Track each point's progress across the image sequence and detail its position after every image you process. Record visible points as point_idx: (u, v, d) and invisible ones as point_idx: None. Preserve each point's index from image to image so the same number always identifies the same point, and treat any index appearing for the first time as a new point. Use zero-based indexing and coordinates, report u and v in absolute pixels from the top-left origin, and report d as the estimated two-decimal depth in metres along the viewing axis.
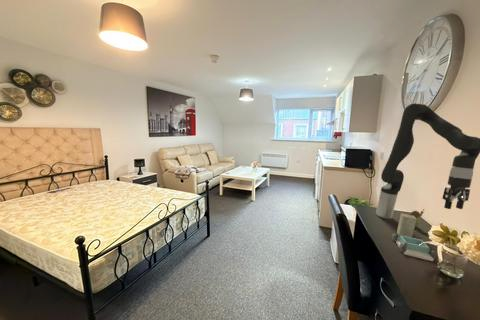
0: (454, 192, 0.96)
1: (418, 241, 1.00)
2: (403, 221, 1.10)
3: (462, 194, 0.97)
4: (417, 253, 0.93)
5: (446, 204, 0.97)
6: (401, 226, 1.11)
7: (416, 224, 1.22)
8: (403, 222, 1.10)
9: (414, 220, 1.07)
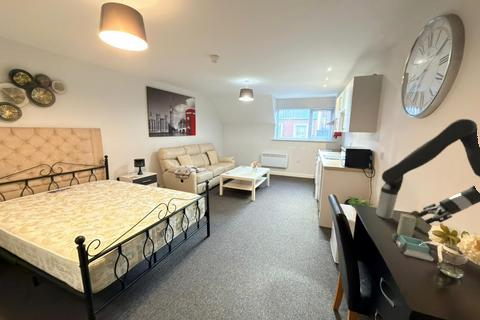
0: None
1: (418, 241, 1.00)
2: (403, 221, 1.10)
3: None
4: (417, 253, 0.93)
5: (431, 221, 1.03)
6: (401, 226, 1.11)
7: (416, 224, 1.22)
8: (403, 222, 1.10)
9: (414, 220, 1.07)
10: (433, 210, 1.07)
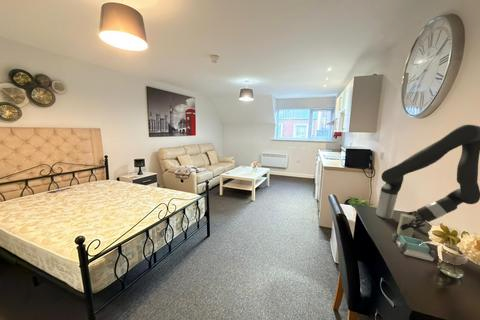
0: None
1: (418, 241, 1.00)
2: (403, 221, 1.10)
3: None
4: (417, 253, 0.93)
5: (405, 227, 1.09)
6: None
7: None
8: (403, 222, 1.10)
9: (414, 220, 1.07)
10: None
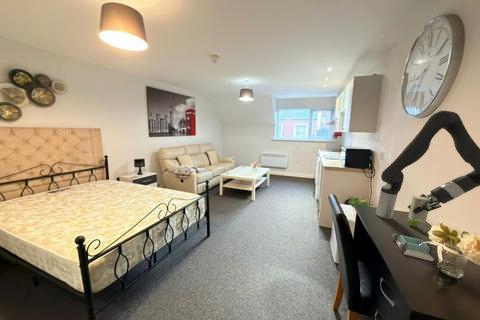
0: None
1: (418, 241, 1.00)
2: (416, 204, 0.99)
3: None
4: (417, 253, 0.93)
5: (418, 210, 0.98)
6: None
7: (416, 224, 1.22)
8: (416, 205, 0.99)
9: (428, 202, 0.97)
10: None
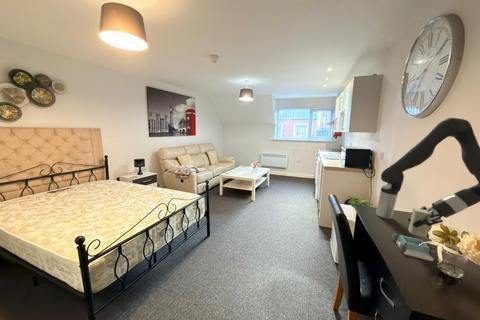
0: None
1: (418, 241, 1.00)
2: (416, 217, 0.95)
3: None
4: (417, 253, 0.93)
5: (419, 224, 0.93)
6: None
7: None
8: (416, 218, 0.95)
9: (429, 216, 0.92)
10: None
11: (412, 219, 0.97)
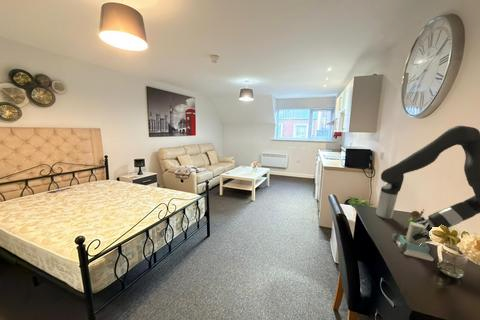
0: None
1: None
2: (413, 231, 0.96)
3: None
4: (417, 253, 0.93)
5: (418, 237, 0.93)
6: (410, 237, 0.97)
7: None
8: (413, 232, 0.96)
9: None
10: None
11: (409, 233, 0.98)
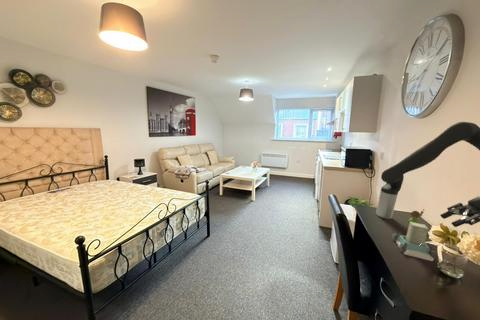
0: None
1: None
2: (413, 231, 0.96)
3: None
4: (417, 253, 0.93)
5: (459, 223, 0.87)
6: (410, 237, 0.97)
7: None
8: (413, 232, 0.96)
9: (425, 230, 0.94)
10: (460, 210, 0.91)
11: (409, 233, 0.98)
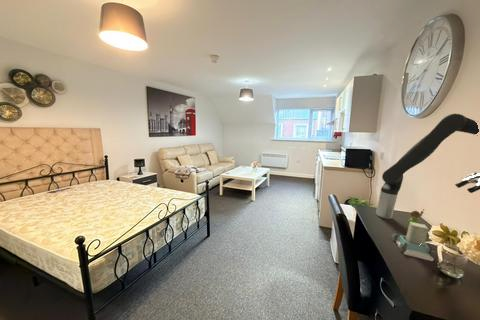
0: None
1: None
2: (413, 231, 0.96)
3: None
4: (417, 253, 0.93)
5: (475, 189, 0.91)
6: (410, 237, 0.97)
7: None
8: (413, 232, 0.96)
9: (425, 230, 0.94)
10: (475, 178, 0.95)
11: (409, 233, 0.98)
